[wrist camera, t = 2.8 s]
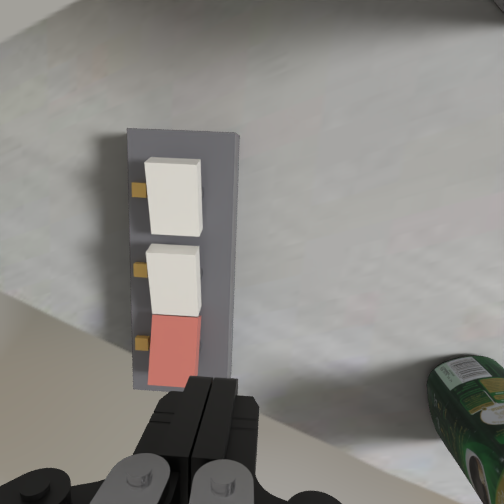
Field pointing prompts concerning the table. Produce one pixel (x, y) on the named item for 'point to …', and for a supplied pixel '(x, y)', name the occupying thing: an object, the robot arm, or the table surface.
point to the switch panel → (187, 243)
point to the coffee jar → (472, 420)
